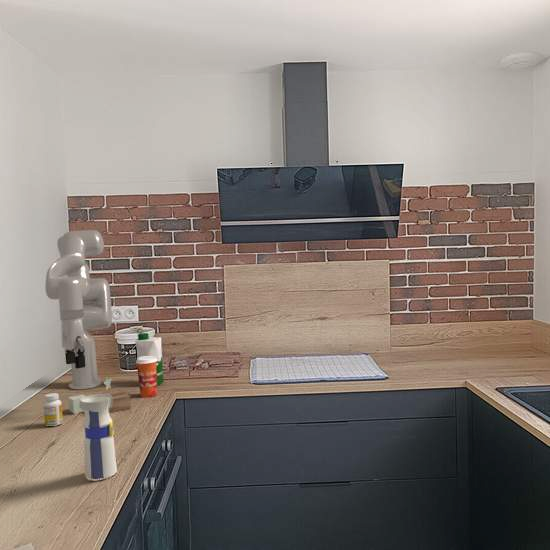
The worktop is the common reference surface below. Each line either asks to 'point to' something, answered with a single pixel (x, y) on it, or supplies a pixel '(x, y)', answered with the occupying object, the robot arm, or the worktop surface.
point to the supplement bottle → (53, 409)
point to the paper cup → (147, 375)
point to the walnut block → (119, 401)
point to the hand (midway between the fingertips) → (75, 365)
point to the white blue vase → (98, 435)
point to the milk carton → (151, 352)
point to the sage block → (75, 403)
